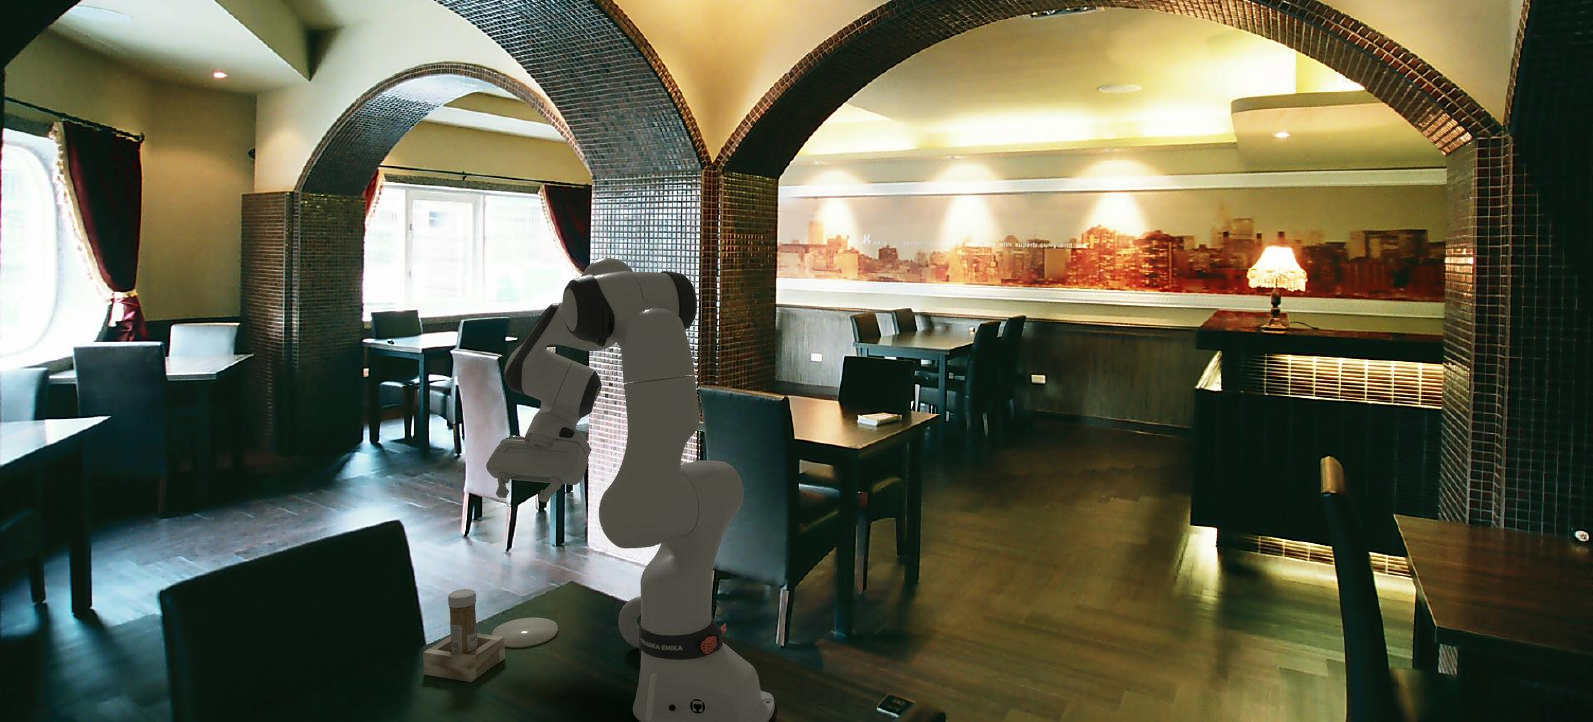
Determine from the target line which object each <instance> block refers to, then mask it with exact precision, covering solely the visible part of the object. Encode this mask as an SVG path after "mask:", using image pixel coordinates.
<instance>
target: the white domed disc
mask: <svg viewBox="0 0 1593 722" xmlns="http://www.w3.org/2000/svg"><path fill="white" fill-rule="evenodd" d="M558 628H559V627H558V624H557V623H556V622H555V621H554V620H552V619H549V618H543V617H524V618H517V619H513V620H510V621H507V622H504V623H502V624H500V625H498V626H496V627H495V628H494V629H493V630H492V632H491V635H493V636H500V637H504V648H527V647H533V646H536V645H540V644H543V643H545V642H548V641H550V640H552V639H553V638H555V636H557V634H558V631H559V629H558Z"/></svg>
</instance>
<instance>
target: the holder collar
mask: <svg viewBox="0 0 1593 722" xmlns="http://www.w3.org/2000/svg"><path fill="white" fill-rule="evenodd" d="M477 642H478V646H477V649H476V650H474V651H473V652H471V653H470V654H468V655H467V654H461V653H454V652H452V649H451V635H449V636H448V637H446V638H445V639H443V640H441V641H439V642H438V643H436V644H435V645H433V646H431V647H429V648H428V649H426V650H424V651H423V652H422V654H423V656H422V657H423V673H424V675H425V676H433V677H439V678H445V679H450V680H457V681H464V682H468V683H471V682H474V681H475V680H476V679H478V678H479V677H481V676H482V675H483V674H485V673H486V672H488V671H489V670H490V669H492V668H493V667H495V666H496V665H497V664H500V663H501V662H502V661H503V660H505V659H506V655H505V654H506V653H505V652H506V651H505V647H504V637H500V636H493V635H492V634H486V633H478V632H477ZM487 670H488V671H487Z"/></svg>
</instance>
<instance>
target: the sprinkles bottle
mask: <svg viewBox="0 0 1593 722" xmlns="http://www.w3.org/2000/svg"><path fill="white" fill-rule="evenodd" d="M447 601H448V602H447V603H448V608H449V620H450V621H449V627H450V628H449V629H450V636H451V649H452V652H454V653H461V654H467V655H468V654H470V653H471V652H473V651H474V650H476V649H477V646H478V642H477V633H478V631H477V630H478V628H477V617H476V615H477V613H476V603H477V593H476V590H473V589H471V588H464V589H463V588H462V589H458V590H453V591H452V592H450V593H448V596H447Z"/></svg>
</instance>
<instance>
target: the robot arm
mask: <svg viewBox="0 0 1593 722" xmlns="http://www.w3.org/2000/svg"><path fill="white" fill-rule="evenodd" d="M633 270H634V269H632V268H631V267H630V265H628V264H627V263H625V261H622V260H619V259H617V258H613V257H603V258H599V259H596V260H594V261H592V262H591V263H589V265H588V266H587V267H586V268H585V270H584V271H583V272H582V274H581V275H580V276H577V277H575V278H573V279H571V280H570V281H568V283H567V285H566V286H565V287H564V290H563V293H562V301H561V302H556V303H551V304H550V305H548V306H547V308H545V310H543V312H542V313H541V314H540V316H539V317H538V319H537V320H536V322H534V325H532V328H531V329H530V330H529V332H528V333H527V335H526V337H525V338H524V340H523V341H522V342H521V343H520V345H519V346H518V347H517V348H515V350H514V351H513V352H511V354H510V356H509V358H508V360H507V362H506V364H505V366H504V373H503V374H504V375H503V377H504V378H503V379H504V381H505V382H506V385H507V386H508V388H509V389H510V391H511V392H514V393H517V394H518V393H519V394H520V395H525V396H529V397H531V398H534V399H536V400H539V401H540V407H539V410H538V411H537V412H536V413H535V415H534V416H533V418H532V420H531V422H530V424H529V426H528V428H527V431H526V432H525V435H524V436H523V435H522V436H521V435H520V436H519V435H518V436H516V435H509V436H508V437H505V438H503V439H502V440H500V442H499V444H498V445H497V446H496V448H495V449H494V451H493V452H492V454H491V455H490V456H489V458H488V460H487V462H486V465H485V468H486V471H487V472H488V473H489V475H491V476H492V478H493V479H497V483H498V485H497V489H496V492H495V495H496V497H497V498H499V499H506V498H508V495H509V493H510V490H509V489H508V488H507V486H506V484H509V483H510V481H512V480H513V481H514V480H515V481H525V482H535V483H536V482H537V483H545V484H549V485H548V486H547V487H546V488H545V489H540V491H539V494H538V495H537V499H538V500H539V501H540V502H542V503H549V502H550V499H551V497H552V495H554V494H555V493H557V492H558V491H559V490H560V489H561V487H562V485H568V486H569V485H571V486H577V485H578V484H579V483H581V482H582V480H583V478H584V476H585V474H586V470H587V467H588V464H589V458H588V457H589V455H590V454H591V451H592V447H591V445H590V444H589V441H588V440H586V438H585V436H583V434H582V433H581V432H580V431H579V430H577V426H578V423H579V421H581V420H582V418H585V417H586V416H587V417H588V415H590V414H591V413H592V412H593V409H594V404H595V402H596V401H597V398H598V397H599V395H600V393H601V390H602V387H603V384H602V381H601V379H600V376H599V374H598V372H597V371H596V370H595V369H593V368H591V367H589V366H587V365H584V364H583V363H580V362H577V361H575V360H572V359H570V358H567V357H566V356H565V357H564V356H563V355H560V354H557V353H556V352H553V351H550V350H548V349H547V346H549V345H557V346H563V347H567V348H572V349H575V350H576V349H577V350H580V351H585V352H599V351H603V350H606V349H609V348H611V347H612V346H615V344H617V345H618V346H619V348H620V352H621V365H622V366H621V368H622V379H623V381H622V382H623V388H624V397H625V398H624V399H625V409H626V421H627V436H626V437H627V438H626V439H627V440H626V446H625V449H624V454H623V457H622V461H621V464H620V467H619V469H618V472H617V474H616V476H615V478H614V479H613V481H612V482H611V484H610V485H609V487H607V489H606V490H605V491H604V492H603V494H602V496H601V499H600V501H599V507H598V519H599V525H600V527H601V531H603V534H604V535H605V537H606V538H607V539H608V540H609V542H610V543H612V544H613V545H614V546H616V547H618V548H620V549H626V550H627V549H642V548H643V549H644V548H652V547H656V546H659V545H660V546H659V548H658V550H657V551H656V553H655V554H654V557H653V558H652V559H651V560H650V561H649V563H647V565H646V567H645V568H644V570H643V571H642V574H641V577H640V582H639V584H640V596H641V615H640V616H641V617H640V619H641V620H640V621H639V623H638V626H639V648H638V651H639V655H640V668H639V677H638V684H637V690H636V694H635V695H636V696H635V698H634V703H633V706H632V713H633V715H634V716H635V718H636V719H637V721H639V722H769V721H770V720H771V718H772V717H773V714H774V713H775V712H774V711H775V708H776V707H775V706H776V705H775V698H774V695H772V693H770V692H767V691H763V690H761V686H760V685H761V684H760V680H759V679H760V678H759V675H758V673H757V670H756V668H755V667H754V666H753V665H752V664H751V663H750V662H748V661H747V660H746V659H744V658H743V657H742V656H741V655H739V654H738V653H737V652H735V651H734V650H733V649H732V648H731V647H729V646H728V645H727V644H726V643H724V642H723V640H724V639H723V638H724V637H723V636H724V634H725V633H726V631H727V628H726V627H727V623H724V624H723V625H721V626H720V627H719V626H718V624H717V623H716V622H715V620H714V617H713V616H712V597H713V596H712V595H713V594H712V593H713V591H712V590H713V588H712V585H713V572H714V566H715V562H716V558H717V555H718V552H719V548H720V546H721V543H722V539H723V537H724V535H725V532H726V530H727V528H728V526H729V524H730V523H731V521H733V518H734V517H735V516H736V515H737V513H739V511H740V509H741V508H742V505H743V503H744V496H745V495H744V494H745V492H744V484H743V481H742V478H741V476H740V474H739V473H738V471H737V470H736V468H734V467H733V466H732V465H731V464H729V463H728V462H726V461H721V460H695V461H691V462H685V463H682V458H683V453H684V451H685V447H686V445H687V443H688V441H689V440H690V439H691V438H692V437H693V436H694V434H695V433H696V432H697V431H698V429H699V426H700V422H701V421H700V420H701V416H700V415H701V414H700V407H699V398H698V391H697V381H696V375H695V367H694V366H695V365H694V360H693V354H692V352H691V346H690V341H689V339H688V336H687V335H688V334H687V332H686V330H688V329H689V328H690V327H691V326H692V325H693V324H694V321H695V319H696V316H697V311H698V298H697V293H696V288H695V286H694V284H693V283H692V282H691V280H690V279H689V278H688V277H687V276H686V275H685V274H683V273H680V272H675V271H669V270H661V271H658V272H656V271H633Z"/></svg>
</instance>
